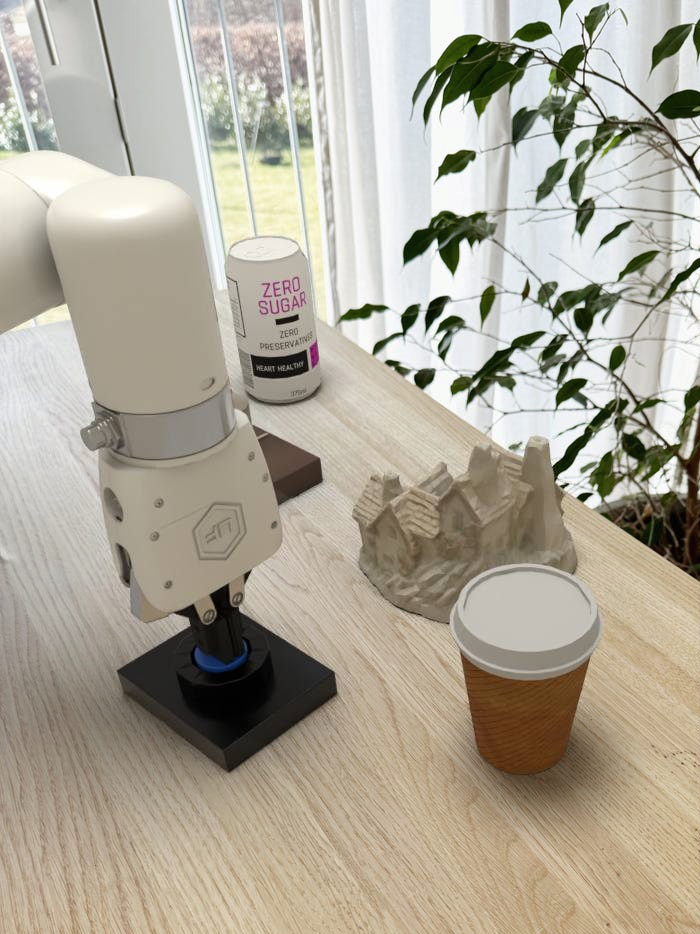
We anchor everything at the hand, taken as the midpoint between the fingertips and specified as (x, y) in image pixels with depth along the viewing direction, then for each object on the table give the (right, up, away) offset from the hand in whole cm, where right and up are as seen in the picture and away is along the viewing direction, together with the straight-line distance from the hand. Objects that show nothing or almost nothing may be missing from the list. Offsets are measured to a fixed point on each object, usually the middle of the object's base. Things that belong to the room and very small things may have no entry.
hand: (222, 650), depth 70 cm
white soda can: (-3, +28, +39) cm, 48 cm away
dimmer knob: (-5, +18, +23) cm, 30 cm away
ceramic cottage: (+17, +7, +15) cm, 24 cm away
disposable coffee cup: (+21, -6, -1) cm, 22 cm away
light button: (0, -1, +1) cm, 2 cm away
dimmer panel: (-5, +16, +25) cm, 30 cm away
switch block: (0, -3, +3) cm, 4 cm away
